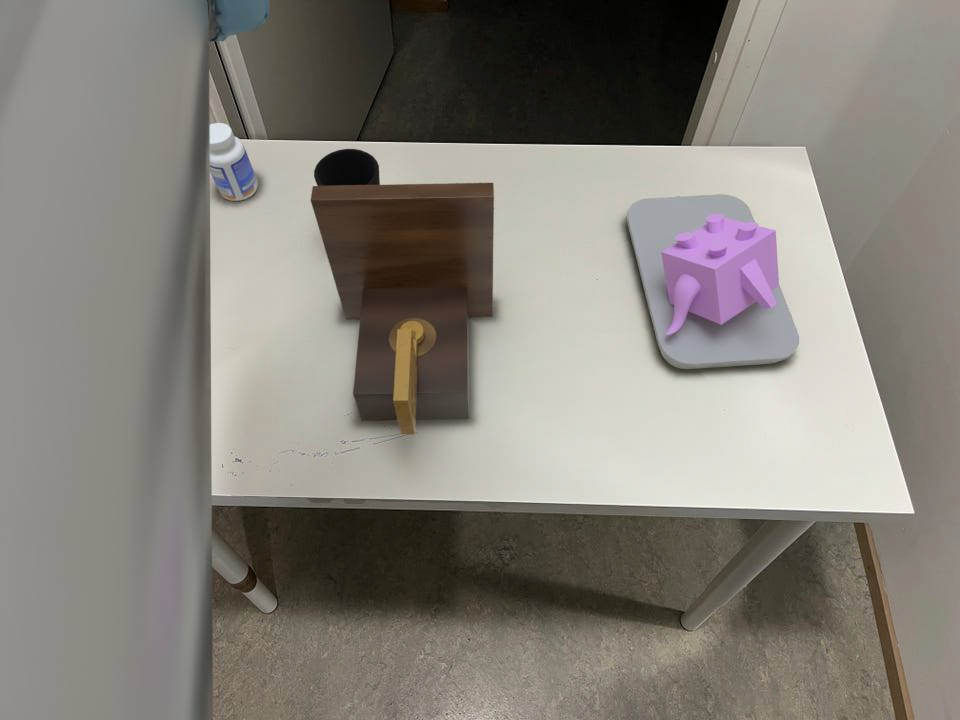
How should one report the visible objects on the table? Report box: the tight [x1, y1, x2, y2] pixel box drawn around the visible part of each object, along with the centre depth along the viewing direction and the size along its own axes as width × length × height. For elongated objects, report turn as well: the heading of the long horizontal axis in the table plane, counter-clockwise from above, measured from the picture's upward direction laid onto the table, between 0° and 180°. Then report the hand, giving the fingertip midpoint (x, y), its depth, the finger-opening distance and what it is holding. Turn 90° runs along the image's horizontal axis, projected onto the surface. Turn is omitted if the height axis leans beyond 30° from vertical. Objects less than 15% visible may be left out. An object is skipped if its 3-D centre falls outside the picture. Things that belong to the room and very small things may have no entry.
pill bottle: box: [210, 122, 259, 202], centre depth 92 cm, size 5×5×10 cm
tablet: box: [626, 193, 800, 370], centre depth 85 cm, size 16×26×2 cm, turn 4°
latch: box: [393, 321, 424, 436], centre depth 69 cm, size 13×3×7 cm, turn 1°
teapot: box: [661, 214, 780, 335], centre depth 77 cm, size 18×13×10 cm
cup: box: [313, 148, 381, 186], centre depth 86 cm, size 8×8×12 cm
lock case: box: [310, 182, 495, 422], centre depth 72 cm, size 16×18×20 cm
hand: (140, 303), depth 59 cm, fingers open, 6 cm apart
